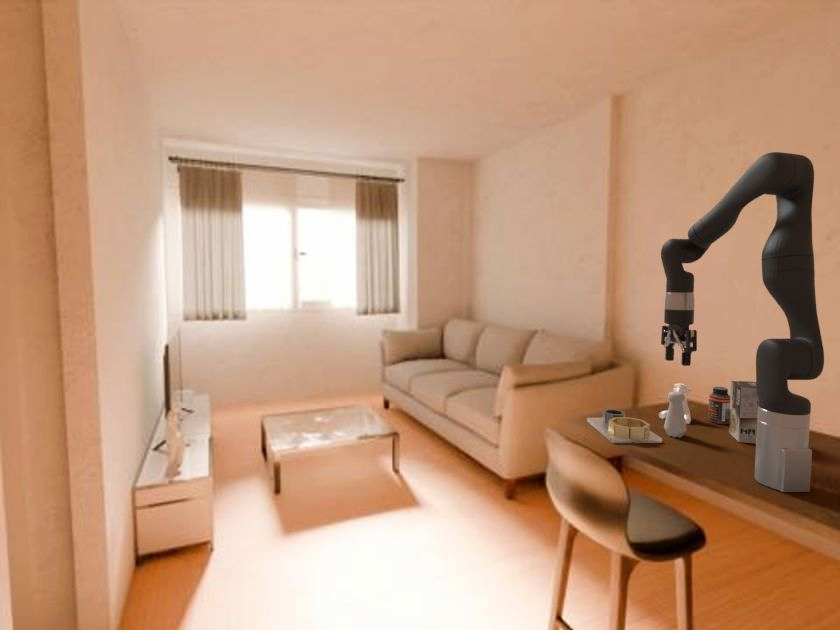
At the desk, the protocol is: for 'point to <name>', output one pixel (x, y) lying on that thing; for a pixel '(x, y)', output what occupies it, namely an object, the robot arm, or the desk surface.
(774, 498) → the desk surface
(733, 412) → the coffee box
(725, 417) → the supplement bottle
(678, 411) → the salt shaker
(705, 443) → the desk surface
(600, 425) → the fitting plate
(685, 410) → the sitting furry creature
